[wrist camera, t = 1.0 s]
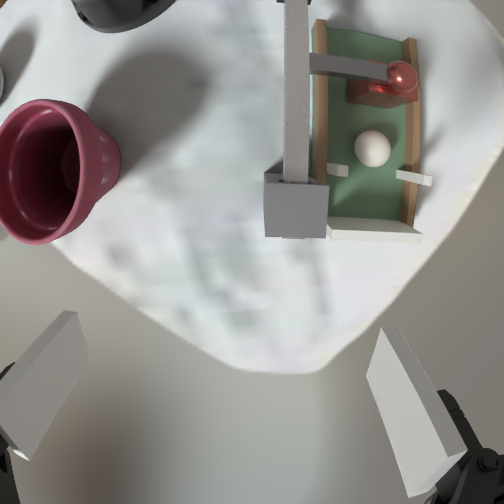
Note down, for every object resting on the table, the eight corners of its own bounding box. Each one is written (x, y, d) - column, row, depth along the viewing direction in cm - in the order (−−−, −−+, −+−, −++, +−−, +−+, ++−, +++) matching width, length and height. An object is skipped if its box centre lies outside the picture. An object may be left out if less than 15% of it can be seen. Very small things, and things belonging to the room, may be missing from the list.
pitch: (266, 27, 27) (268, -27, 15) (403, 47, 27) (455, 16, 15) (263, 224, 35) (264, 261, 23) (399, 229, 34) (451, 264, 23)
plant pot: (123, 90, 30) (64, 68, 18) (156, 194, 34) (105, 217, 22) (42, 139, 31) (-24, 144, 19) (70, 230, 36) (10, 263, 23)
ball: (350, 129, 29) (361, 126, 26) (382, 133, 29) (397, 131, 26) (348, 164, 31) (360, 166, 27) (381, 167, 31) (396, 170, 27)
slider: (273, -11, 24) (277, -60, 14) (380, 4, 23) (414, -32, 14) (270, 215, 32) (275, 242, 23) (382, 219, 32) (424, 246, 23)
